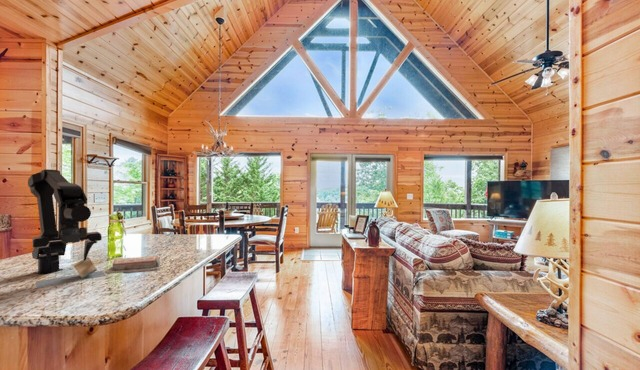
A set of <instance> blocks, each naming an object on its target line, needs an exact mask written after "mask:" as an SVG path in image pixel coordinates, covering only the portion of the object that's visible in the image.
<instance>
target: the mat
mask: <svg viewBox="0 0 640 370" xmlns="http://www.w3.org/2000/svg"><path fill="white" fill-rule="evenodd" d="M106 276H107V274H106V273H105V272H104V271H102V270H99V271H98V270H97V271H95V272H93V273H91V274H89V275H88V276H86V277H84V278H81V276H80V275H79V274H74V275H68V276H61V277H55V278H50V279H44V280H36V281H35V284H36V289H40V288H45V287H51V286H57V285H63V284H69V283H74V282H80V281H84V280H90V279H95V278H101V277H106Z"/></svg>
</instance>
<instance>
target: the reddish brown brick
mask: <svg viewBox="0 0 640 370" xmlns="http://www.w3.org/2000/svg"><path fill="white" fill-rule="evenodd" d="M160 259H161V257H160V256H159V255H155V256H140V257H139V256H138V257H124V258H123V257H121V258H119V257H118V258H115V259H114V261H113V263H112V266H111V267H110V268H109V269H108V270H107V271H105V274H112V273H137V272H139V273H140V272H147V271H148V272H150V271H158V270H159V268H160V266H161V264H162V261H160Z"/></svg>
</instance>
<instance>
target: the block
mask: <svg viewBox="0 0 640 370" xmlns="http://www.w3.org/2000/svg"><path fill="white" fill-rule="evenodd" d="M72 266H73V267H74V269H75V271H76V272H77V274H78V275H80V276H81V278H84V277H86V276H88V275H89V274H91V273H93V272H97V271H98V269H97V268H96V266H95V264H94V263H93V262H92V260H91V259H90V257H88V256H87V258H86V260H85V261H84V258H83V259H82V260H79V261H77V262H76V263H74V264H72Z"/></svg>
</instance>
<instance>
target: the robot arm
mask: <svg viewBox="0 0 640 370" xmlns="http://www.w3.org/2000/svg"><path fill="white" fill-rule="evenodd" d="M27 186H28V188H29V191H30V193H31V194H32V195H33V196H34V197H36V201H37V209H38V218H39V227H40V234H39V236H36V237H33V238H32V243H31V245H32V248H33V250H32V252H31V257H32V259H34V260H37V261H38V262H37V271H34V272H33V274H35V275H36V274H37V275H49V274H52V273H57V272H61V271H64V269H63V268H60V256H65V254H66V248H67V245H68V243H69V244H70V243H79V242H81V241H84V240H85V241H84V248H83V249H84V250H83V255H82V257H83V259H84V261H85V260H86V258H87V257H88V255H89V253H90V250H91V248H92V247H93V245H94V244H97V243H98V242H99V241H102V234H101V233H100V232H98V231H92V232H91V231H89V232H88V229H87V227H86V226H85V227H80V223H82V222H85V221H87V220H89V218H90V217H91V215H92V212H91V209H90V208H89V207H88V206H86V205H87V204H88V197H87V195H86V193H85V191H84V189H83V188H82V186H80V185H78V184H77V183H72V182H69V181H68V180H67V179H66V177H64V175H63V174H62V173H61V171H60V170H57V169H50V168H49V169H48V168H47V169H46V168H45V169H42V170H41V171H39V172H36V173H32V174H31V175H30V176H29V178H28V179H27ZM54 199H55V201H56V203H57V207H58V208H57V209H58V211H57V212H58V213H57V214H58V215H57V218H58V219H57V220H58V221H56V214H55V206H54V204H55V203H54ZM85 204H86V205H85ZM57 225H58V227H57Z"/></svg>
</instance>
